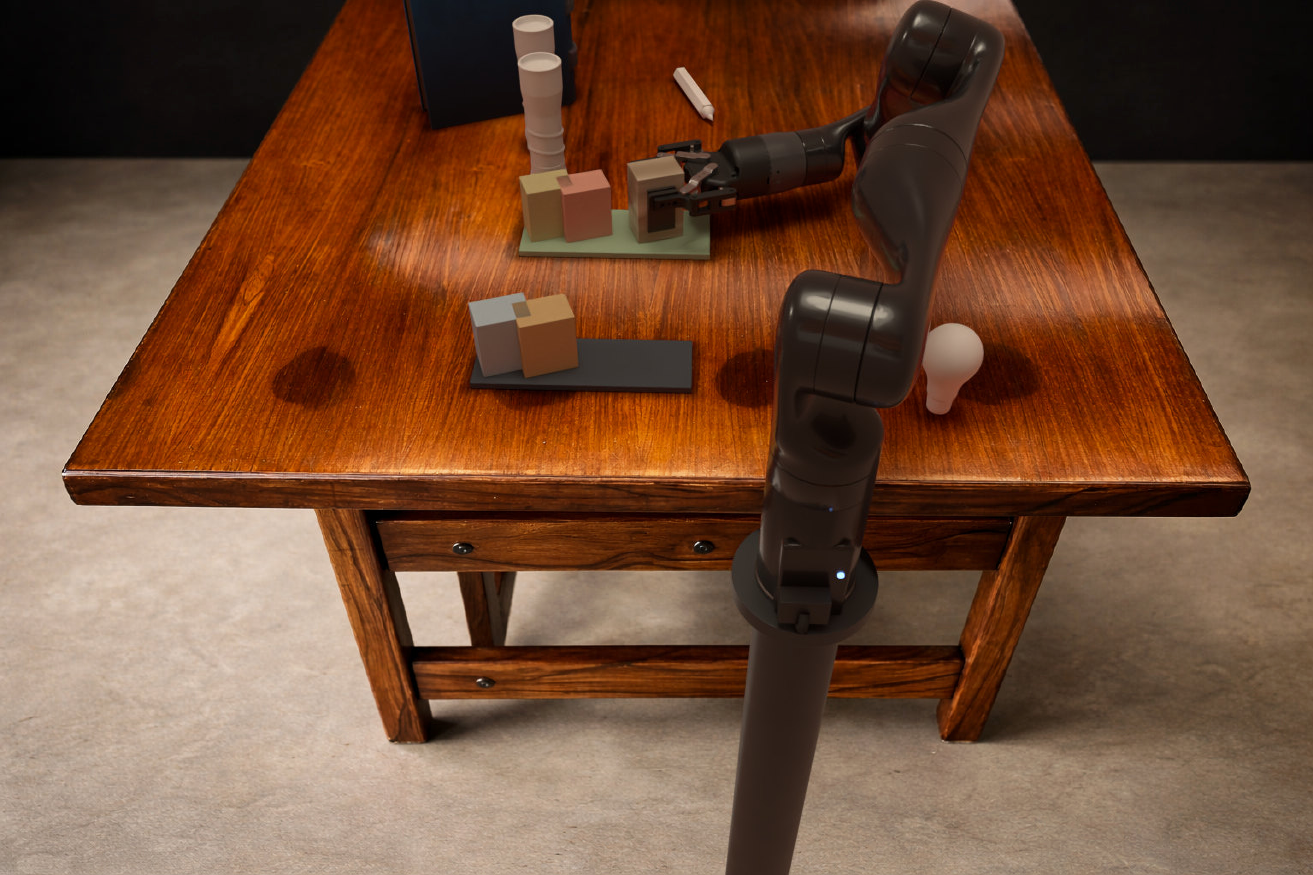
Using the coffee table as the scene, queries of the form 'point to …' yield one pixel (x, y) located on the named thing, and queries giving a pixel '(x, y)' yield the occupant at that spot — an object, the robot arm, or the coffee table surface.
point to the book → (479, 56)
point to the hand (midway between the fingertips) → (639, 186)
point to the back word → (594, 222)
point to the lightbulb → (950, 363)
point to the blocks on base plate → (567, 352)
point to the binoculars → (540, 91)
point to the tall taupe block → (640, 184)
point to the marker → (694, 93)
